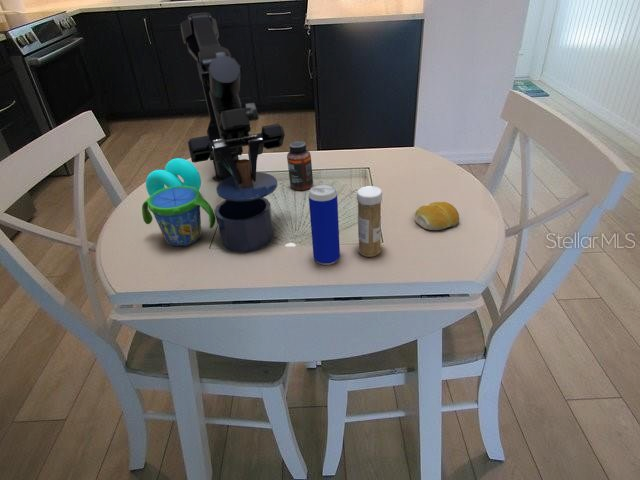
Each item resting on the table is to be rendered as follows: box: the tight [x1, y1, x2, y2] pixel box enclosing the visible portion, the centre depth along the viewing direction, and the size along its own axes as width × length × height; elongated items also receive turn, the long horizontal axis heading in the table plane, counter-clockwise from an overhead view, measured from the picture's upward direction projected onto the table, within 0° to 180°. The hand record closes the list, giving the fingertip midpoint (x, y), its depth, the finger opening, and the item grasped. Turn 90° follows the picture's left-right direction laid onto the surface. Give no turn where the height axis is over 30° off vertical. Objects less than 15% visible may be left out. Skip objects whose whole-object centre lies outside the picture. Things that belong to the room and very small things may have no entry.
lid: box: [215, 158, 278, 202], centre depth 91 cm, size 12×12×6 cm
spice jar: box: [356, 185, 383, 258], centre depth 87 cm, size 5×5×14 cm
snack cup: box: [141, 186, 216, 247], centre depth 97 cm, size 16×10×10 cm
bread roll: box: [414, 201, 460, 231], centre depth 98 cm, size 8×9×4 cm
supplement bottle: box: [286, 140, 314, 191], centre depth 114 cm, size 6×6×11 cm
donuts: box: [145, 157, 202, 197], centre depth 112 cm, size 10×10×10 cm
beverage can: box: [308, 183, 341, 266], centre depth 86 cm, size 5×5×15 cm
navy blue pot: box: [214, 197, 275, 254], centre depth 96 cm, size 11×11×7 cm
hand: (247, 182), depth 90 cm, fingers closed on lid, 3 cm apart
